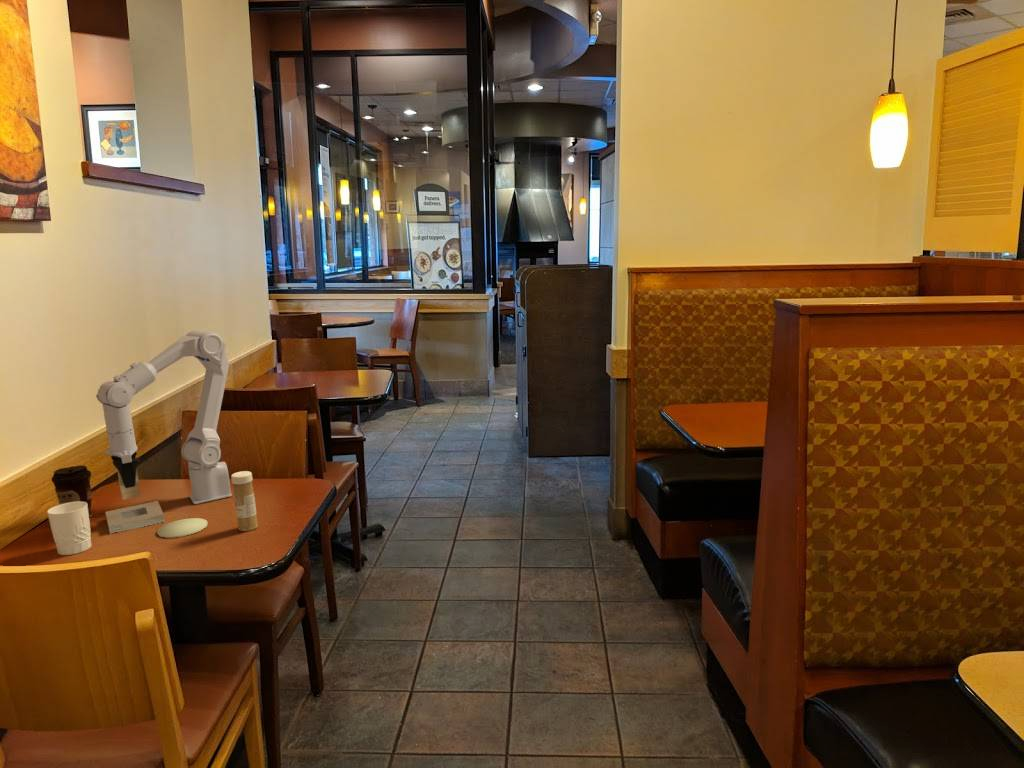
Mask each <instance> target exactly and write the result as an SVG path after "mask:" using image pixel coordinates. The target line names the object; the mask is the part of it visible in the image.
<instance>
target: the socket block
mask: <svg viewBox="0 0 1024 768" xmlns="http://www.w3.org/2000/svg"><path fill="white" fill-rule="evenodd" d="M104 513H105V517H106V523H107V527H108V531H109V535H112V534H111V533H114V534H116V533H115V532H118V533H122V532H121V531H123V532H126V531H125V530H127V531H130V530H135V529H139V528H140V529H141V528H144V526H145V527H148V525H149V526H153V524H154V525H157V523H158V524H162V523H161V522H163V523H165V522H166V521H165V515H164V512H163V510H162V507H161V505H160V503H159V501H158V500H154V501H150V502H145V503H141V504H137V505H131V506H127V507H122V508H116V509H113V510H108V511H105V512H104Z"/></svg>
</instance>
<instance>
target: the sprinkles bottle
mask: <svg viewBox="0 0 1024 768" xmlns="http://www.w3.org/2000/svg"><path fill="white" fill-rule="evenodd" d="M230 479H231V484H232V486H233V493H234V503H235V510H236V517H237V524H238V525H237V530H239V531H241V532H251V531H253V530H255V529H257V528H258V527H259V522H258V518H257V507H256V499H255V492H254V488H253V473H252V472H251V471H248V470H244V471H237V472H234V473H232V474H231V476H230Z"/></svg>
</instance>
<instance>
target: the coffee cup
mask: <svg viewBox="0 0 1024 768" xmlns="http://www.w3.org/2000/svg"><path fill="white" fill-rule="evenodd" d="M91 476H92V472H91V471H90V470H88V466H86V465H73V466H69V467H61V468H58V469H56V470H55V471H53V475H52V477H51V482H52V483H53V485H54V488H55V489H54V491H55V494H56V497H57V500H58V505H60V504H64V503H69V502H77V501H82V502H86V503H87V504H88V513H89V516H91V515H92V514H93V512H92V486H91Z"/></svg>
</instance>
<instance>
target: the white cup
mask: <svg viewBox="0 0 1024 768" xmlns="http://www.w3.org/2000/svg"><path fill="white" fill-rule="evenodd" d="M46 514H47V517H48V522H49V526H50V530H51V534H52V537H53V540H54V543H55V545H56V549H57V554H58V555H61V556H71V555H77V554H80V553H83V552H85V551H87V550H90V548H91V547H92V536H91V535H92V531H91V521H90V518H89V513H88V504H87V503H86V502H82V501H77V502H69V503H64V504H57V505H56V506H52V507H51V508H49V509H47V511H46Z"/></svg>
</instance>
